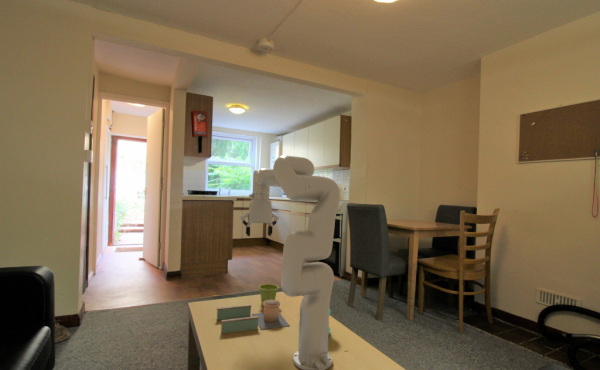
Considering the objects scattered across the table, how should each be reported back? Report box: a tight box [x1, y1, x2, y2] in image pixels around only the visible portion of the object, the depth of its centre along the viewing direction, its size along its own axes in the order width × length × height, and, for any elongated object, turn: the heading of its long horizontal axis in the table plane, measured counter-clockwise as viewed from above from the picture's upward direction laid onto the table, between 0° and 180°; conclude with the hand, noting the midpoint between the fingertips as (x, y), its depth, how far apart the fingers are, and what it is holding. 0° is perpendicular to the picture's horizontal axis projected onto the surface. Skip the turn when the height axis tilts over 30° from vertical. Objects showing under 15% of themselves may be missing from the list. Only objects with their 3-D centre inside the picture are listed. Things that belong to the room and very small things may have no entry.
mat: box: [251, 312, 290, 331], centre depth 131 cm, size 16×12×1 cm
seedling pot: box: [262, 299, 281, 323], centre depth 132 cm, size 7×7×7 cm
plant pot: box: [258, 283, 279, 306], centre depth 149 cm, size 9×9×9 cm
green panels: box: [216, 304, 259, 334], centre depth 126 cm, size 14×14×5 cm
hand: (259, 235), depth 139 cm, fingers open, 9 cm apart
